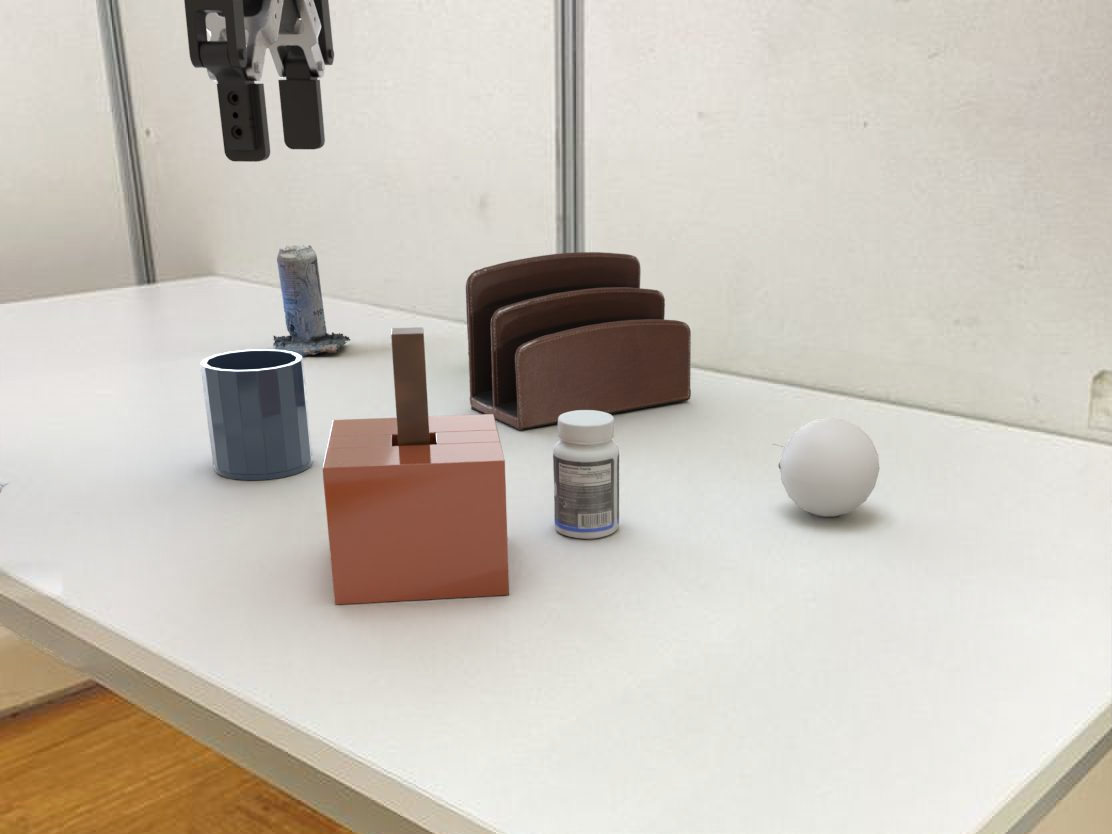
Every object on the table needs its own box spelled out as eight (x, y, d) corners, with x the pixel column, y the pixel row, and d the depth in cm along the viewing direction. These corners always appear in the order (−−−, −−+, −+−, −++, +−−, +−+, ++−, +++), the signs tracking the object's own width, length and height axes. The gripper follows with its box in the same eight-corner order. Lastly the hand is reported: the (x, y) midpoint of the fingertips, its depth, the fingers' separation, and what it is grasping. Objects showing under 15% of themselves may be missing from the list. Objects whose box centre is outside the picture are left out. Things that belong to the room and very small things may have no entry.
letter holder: (468, 408, 123) (461, 261, 117) (635, 381, 133) (636, 244, 127) (519, 432, 115) (514, 275, 110) (691, 401, 125) (696, 256, 120)
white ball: (895, 522, 93) (905, 426, 90) (808, 536, 90) (815, 437, 87) (823, 483, 101) (830, 394, 98) (742, 495, 99) (746, 403, 96)
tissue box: (334, 604, 79) (322, 468, 75) (343, 543, 89) (332, 419, 85) (509, 595, 80) (504, 460, 77) (498, 535, 90) (493, 413, 87)
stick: (406, 574, 84) (391, 334, 77) (407, 563, 86) (391, 327, 79) (437, 572, 84) (423, 333, 78) (436, 561, 86) (423, 327, 79)
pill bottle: (570, 514, 95) (569, 405, 91) (628, 522, 93) (629, 411, 90) (543, 534, 91) (541, 421, 87) (604, 544, 89) (604, 428, 86)
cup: (208, 482, 102) (193, 372, 98) (221, 453, 109) (208, 350, 105) (308, 478, 103) (298, 369, 99) (315, 450, 110) (305, 347, 106)
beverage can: (273, 360, 142) (261, 251, 138) (273, 346, 149) (262, 242, 144) (354, 356, 144) (345, 248, 140) (350, 342, 151) (342, 239, 146)
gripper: (229, -166, 69) (261, 146, 76) (102, -217, 56) (154, 165, 63) (360, -170, 68) (382, 146, 75) (262, -222, 55) (298, 166, 62)
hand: (278, 154), depth 69 cm, fingers open, 8 cm apart
